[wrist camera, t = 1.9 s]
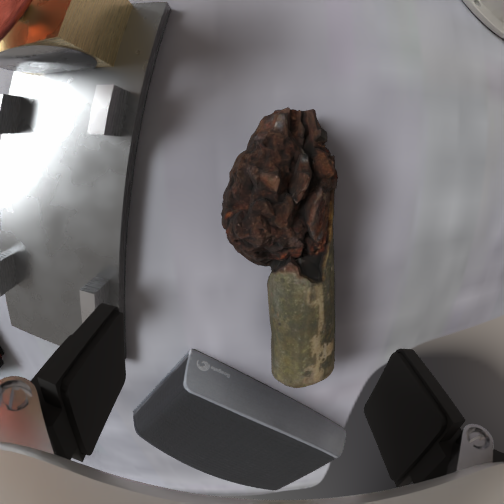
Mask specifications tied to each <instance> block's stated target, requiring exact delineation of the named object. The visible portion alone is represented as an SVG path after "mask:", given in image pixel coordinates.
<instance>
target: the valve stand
mask: <svg viewBox="0 0 504 504" xmlns="http://www.w3.org/2000/svg"><path fill="white" fill-rule="evenodd" d="M170 11H171V8H170V6H169V5H168V3H167V2H152V3H136V4H131V3H130V2H129V1H128V0H0V67H1V68H3V69H7V70H12V71H14V74H13V78H12V82H11V86H10V91H9V95H6V94H1V95H0V134H2V137H1V145H0V296H2V295H3V294H5V295H6V301H7V306H8V311H9V316H10V320H11V324H12V326H14V327H17V328H19V329H21V330H23V331H25V332H28V333H30V334H32V335H35V336H37V337H40V338H42V339H44V340H47V341H49V342H52V343H54V344H57V345H60V346H61V344H62V343H63V342H64V341H65V340H66V339H67V338H68V337H69V336H70V335H72V334H73V333H74V332H75V331H76V330H77V329H78V328H79V327H80V326H81V324H82V323H83V322H84V321H85V320H86V319H87V318H88V317H89V316H90V314H91V313H92V312H93V311H94V310H95V309H96V308H97V307H98V306H99V305H100V304H101V303H105V304H108V305H112V306H116V307H118V308H119V312H122V313H123V315H124V290H125V257H126V239H127V225H128V214H129V203H130V194H131V186H132V178H133V170H134V163H135V156H136V150H137V144H138V138H139V132H140V127H141V121H142V116H143V111H144V106H145V102H146V97H147V93H148V88H149V84H150V80H151V76H152V72H153V68H154V64H155V60H156V57H157V53H158V50H159V46H160V43H161V39H162V36H163V33H164V29H165V26H166V23H167V20H168V17H169V14H170ZM124 351H125V359H126V349H125V316H124Z"/></svg>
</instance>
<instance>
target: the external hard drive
mask: <svg viewBox="0 0 504 504" xmlns="http://www.w3.org/2000/svg"><path fill="white" fill-rule="evenodd" d="M133 412H134V414H133V419H134V426H135V430H136V432H137V434H138V435H139V436H140V437H141V438H143V439H144V440H145V441H147V442H148V443H150V444H151V445H153V446H154V447H156V448H158V449H159V450H161V451H163V452H164V453H166V454H168V455H169V456H171V457H173V458H175V459H177V460H179V461H181V462H182V463H184V464H187V465H189V466H191V467H193V468H195V469H197V470H200V471H202V472H204V473H207V474H210V475H212V476H215V477H218V478H221V479H224V480H227V481H231V482H234V483H238V484H242V485H246V486H251V487H256V488H261V489H268V490H278V489H280V488H282V487H284V486H286V485H288V484H290V483H292V482H294V481H296V480H298V479H300V478H301V477H303V476H305V475H307V474H309V473H311V472H313V471H315V470H317V469H318V468H320V467H322V466H324V465H325V464H327V463H329V462H331V461H332V460H334V459H336V458H338V457H339V456H340V455H341V454H342V451H343V448H344V444H345V440H346V433H347V432H346V430H345V429H343V428H342V427H340V426H339V425H337V424H335V423H334V422H332V421H330V420H329V419H327V418H325V417H324V416H322V415H320V414H319V413H317V412H315V411H313V410H311V409H310V408H308V407H306V406H304V405H302V404H300V403H299V402H297V401H295V400H293V399H291V398H289V397H287V396H285V395H284V394H282V393H280V392H278V391H276V390H274V389H272V388H270V387H268V386H266V385H264V384H262V383H260V382H258V381H256V380H254V379H252V378H250V377H249V376H247V375H245V374H243V373H241V372H239V371H237V370H235V369H233V368H231V367H229V366H227V365H225V364H223V363H221V362H219V361H217V360H215V359H213V358H211V357H209V356H207V355H205V354H203V353H200V352H198V351H196V350H194V349H191V350H190V351H189V352H188V353H187V354H186V355H185V356H184V357H183V358H182V359H181V361H180V362H179V363H178V364H177V365H176V366H175V367H174V368H173V369H172V370H171V371H170V372H169V374H167V376H166V377H165V378H164V379H163V380H162V381H161V382H160V383H159V384H158V385H157V386H156V388H155V389H154V390H153V391H152V392H151V393H150V394H149V395H148V396H147V397H146V398H145V400H144V401H143V402H142V403H141V404H140V405H139V406H138V407H137V408H136V409H135V410H134V411H133Z"/></svg>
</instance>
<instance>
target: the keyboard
mask: <svg viewBox="0 0 504 504" xmlns="http://www.w3.org/2000/svg"><path fill="white" fill-rule="evenodd" d="M3 354H4V352H3V350H2V348H1V347H0V368H1V366H2V365H3V364H4V362H3V360H2V357H1V356H2V355H3Z"/></svg>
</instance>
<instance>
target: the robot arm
mask: <svg viewBox="0 0 504 504" xmlns="http://www.w3.org/2000/svg"><path fill="white" fill-rule="evenodd" d="M463 2H464V3H465V4H466V5H467V7H468V8H469V9H470V10H471V11H472V12H473V13H474V14H475V15H476V16H477V17H478V18H479V19H480V20H481V21H482V22H483V23H484V24H485V25H486V26H487V27H488V28H489V29H491V30H492V31H493V32H494V33H496V34H497V35H499V36H500V37H501V38H503V39H504V0H463ZM125 378H126V370H125V351H124V315H123V313H122V312H119V308H118V307H116V306H112V305H108V304H105V303H101V304H100V305H99V306H98V307H97V308H96V309H95V310H94V311H93V312H92V313H91V314H90V316H89V317H88V318H87V319H86V320H85V321H84V322H83V323H82V324H81V326H80V327H79V328H78V329H77V330H76V331H75V332H74V333H73V334H72V335H70V336H69V337H68V338H67V339H66V340H65V341H64V342H63V343H62V344H61V346H60V347H59V348H58V349H57V350H56V351H55V352H54V354H53V355H52V356H51V357H50V358H49V360H48V361H47V362H46V363H45V364H44V366H43V367H42V368H41V369H40V370H39V372H38V373H37V374H36V375H35V376H34V378H33V379H32V380H31V381H29V380H27V379H25V378H22V377H19V376H10V377H6V378H3V379H1V380H0V504H504V453H501V452H499V451H497V450H494V449H493V439H492V437H491V435H490V433H489V432H488V431H487V430H486V429H484V428H483V427H481V426H479V425H475V424H470V425H467V426H466V427H465V428H464V429H463V430H461V429H460V427H461V425H462V424H463V423H464V422H465V419H464V417H463V416H462V415H461V413H460V412H459V410H458V409H457V407H456V406H455V405H454V403H453V402H452V401H451V399H450V398H449V396H448V395H447V394H446V392H445V391H444V390H443V388H442V387H441V386H440V384H439V383H438V381H437V380H436V379H435V377H434V376H433V375H432V373H431V372H430V371H429V369H428V368H427V367H426V366H425V364H424V363H423V362H422V360H421V359H420V358H419V357H418V355H417V354H416V353H415V351H414V350H412V349H398V350H397V351H396V352H395V353H393V354H392V355H391V357H390V359H389V361H388V363H387V365H386V367H385V369H384V372H383V373H382V375H381V377H380V379H379V381H378V383H377V385H376V386H375V388H374V390H373V392H372V394H371V396H370V397H369V399H368V401H367V403H366V404H365V407H364V413H365V416H366V418H367V421H368V423H369V426H370V428H371V430H372V432H373V435H374V438H375V440H376V442H377V445H378V447H379V450H380V453H381V455H382V458H383V460H384V463H385V465H386V468H387V470H388V473H389V475H390V478H391V479H392V480H394V482H395V484H396V487H399V488H394V489H390V490H384V491H379V492H373V493H367V494H361V495H353V496H345V497H336V498H325V499H309V500H253V499H238V498H226V497H217V496H209V495H202V494H195V493H189V492H183V491H178V490H172V489H168V488H163V487H158V486H154V485H150V484H146V483H142V482H138V481H134V480H130V479H126V478H123V477H119V476H116V475H113V474H110V473H106V472H103V471H100V470H97V469H94V468H92V467H89V466H86V465H83V464H80V463H77V462H74V461H71V458H74V459H76V460H79V461H81V462H83V460H84V458H85V455H91V454H92V452H93V450H94V448H95V445H96V443H97V441H98V438H99V436H100V434H101V432H102V430H103V427H104V425H105V423H106V421H107V419H108V416H109V414H110V412H111V410H112V408H113V406H114V404H115V402H116V399H117V397H118V395H119V393H120V391H121V389H122V387H123V385H124V382H125ZM412 481H413V483H414V484H412V485H408V484H410V483H411V482H412ZM405 485H408V486H405ZM400 486H403V487H400Z"/></svg>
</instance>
